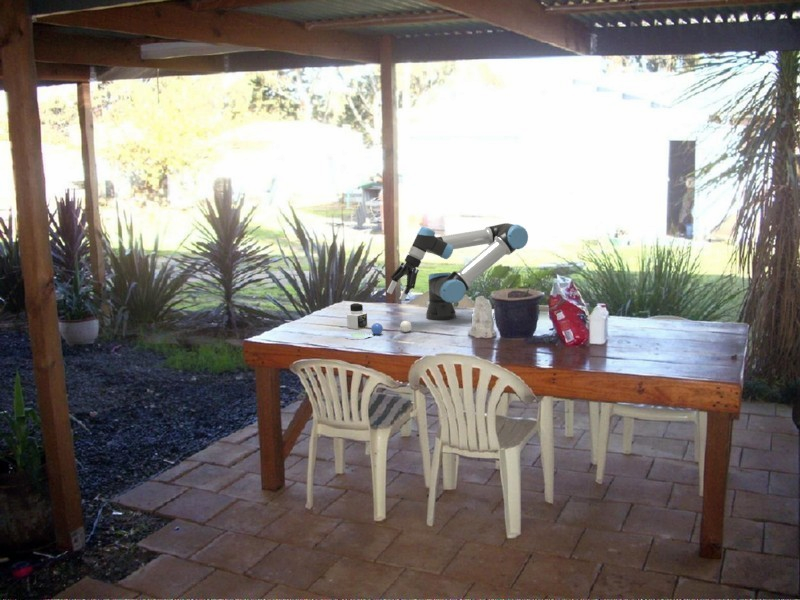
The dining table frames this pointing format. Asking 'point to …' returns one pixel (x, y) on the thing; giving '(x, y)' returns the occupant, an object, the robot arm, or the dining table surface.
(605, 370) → the dining table surface
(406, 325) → the cue ball
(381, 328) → the object ball
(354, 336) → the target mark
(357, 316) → the medicine bottle
